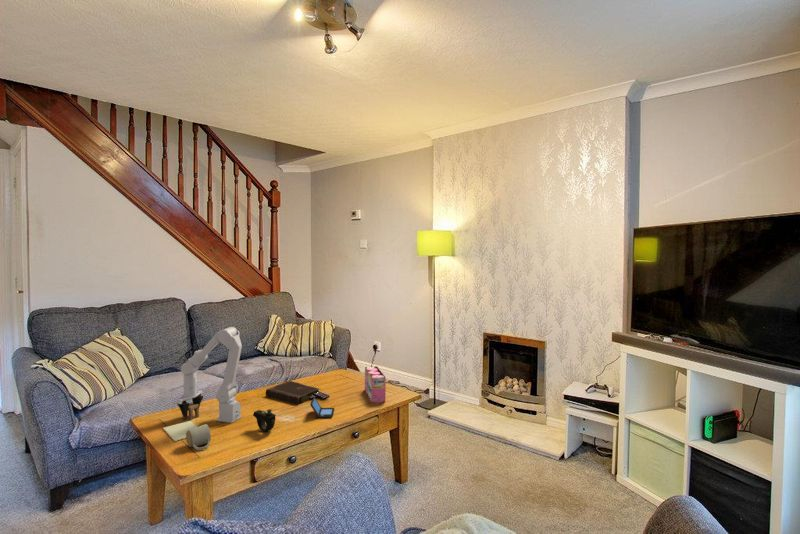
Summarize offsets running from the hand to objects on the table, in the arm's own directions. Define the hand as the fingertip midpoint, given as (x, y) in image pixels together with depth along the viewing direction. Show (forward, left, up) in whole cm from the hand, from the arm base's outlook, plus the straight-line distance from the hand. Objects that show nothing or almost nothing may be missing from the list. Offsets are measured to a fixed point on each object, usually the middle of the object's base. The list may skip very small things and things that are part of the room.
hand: (190, 413), depth 211 cm
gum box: (-74, -58, -2) cm, 94 cm away
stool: (0, 0, -2) cm, 2 cm away
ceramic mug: (-27, +23, -2) cm, 35 cm away
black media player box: (-31, -43, -3) cm, 53 cm away
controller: (-43, +2, -2) cm, 43 cm away
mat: (-9, +14, -2) cm, 17 cm away
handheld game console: (-59, -24, -2) cm, 64 cm away
